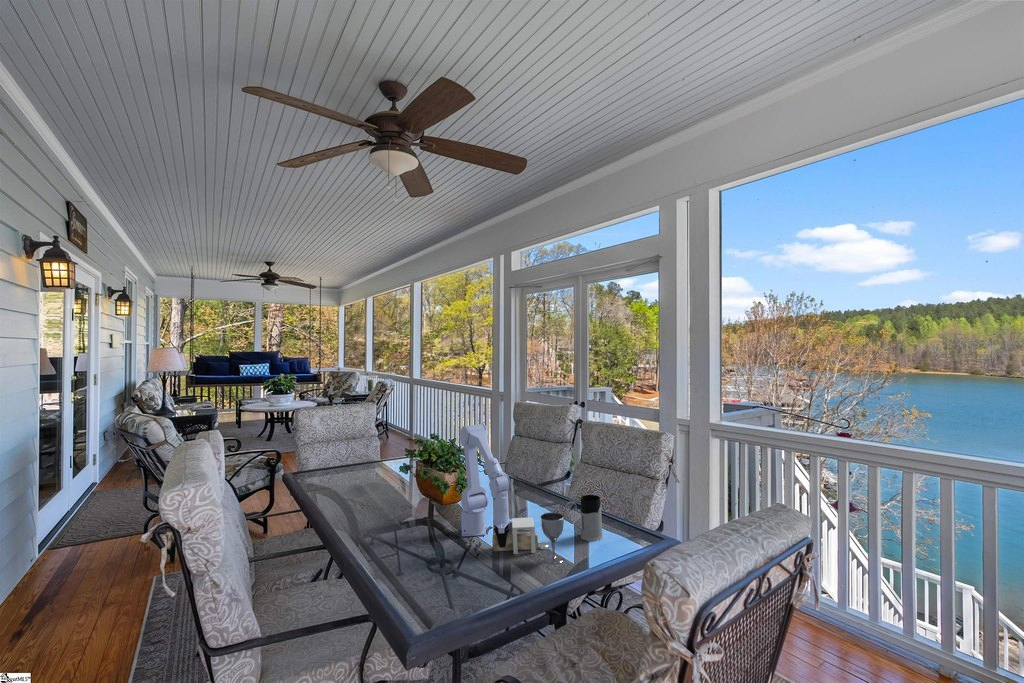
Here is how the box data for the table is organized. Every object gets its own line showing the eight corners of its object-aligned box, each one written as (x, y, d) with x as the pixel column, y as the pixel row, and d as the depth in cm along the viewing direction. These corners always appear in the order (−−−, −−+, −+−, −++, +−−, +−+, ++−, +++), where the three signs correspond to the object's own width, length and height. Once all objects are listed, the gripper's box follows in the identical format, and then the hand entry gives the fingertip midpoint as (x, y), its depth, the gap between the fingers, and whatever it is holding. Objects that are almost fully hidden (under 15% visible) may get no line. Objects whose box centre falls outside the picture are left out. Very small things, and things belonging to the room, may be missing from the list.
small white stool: (513, 555, 167) (512, 528, 167) (513, 543, 178) (512, 518, 178) (535, 554, 167) (534, 527, 168) (534, 542, 178) (533, 517, 178)
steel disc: (544, 551, 170) (544, 548, 170) (535, 548, 173) (535, 545, 173) (552, 547, 173) (552, 544, 173) (543, 544, 176) (543, 541, 176)
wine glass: (541, 555, 166) (539, 513, 167) (563, 553, 167) (561, 511, 167) (544, 565, 158) (542, 521, 159) (567, 563, 159) (565, 519, 159)
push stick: (493, 551, 171) (492, 537, 172) (493, 548, 174) (492, 534, 174) (538, 548, 172) (537, 535, 172) (537, 546, 174) (537, 532, 174)
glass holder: (605, 540, 176) (603, 500, 177) (568, 542, 176) (566, 502, 177) (601, 531, 185) (599, 493, 185) (565, 533, 185) (563, 495, 185)
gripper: (511, 514, 166) (513, 553, 166) (511, 501, 180) (512, 537, 180) (492, 515, 166) (493, 554, 165) (493, 502, 180) (494, 537, 180)
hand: (502, 545), depth 173 cm, fingers closed on push stick, 2 cm apart
